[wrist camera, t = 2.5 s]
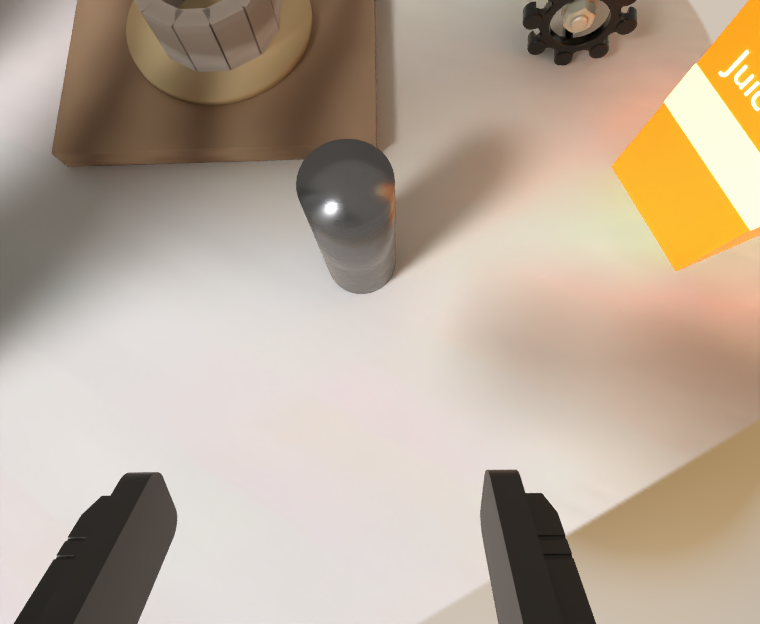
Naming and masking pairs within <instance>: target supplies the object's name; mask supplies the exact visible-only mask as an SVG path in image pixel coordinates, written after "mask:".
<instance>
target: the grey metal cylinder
mask: <svg viewBox="0 0 760 624" xmlns="http://www.w3.org/2000/svg"><path fill="white" fill-rule="evenodd" d="M296 190H297V195H298V198H299V201H300V203H301V206H302V208H303V210H304V213H305V215H306V217H307V220H308V222H309V224H310V227H311V229H312V231H313V234H314V236H315V238H316V241H317V243H318V245H319V248H320V250H321V252H322V255H323V257H324V259H325V262H326V264H327V266H328V269H329V271H330V273H331V276H332V278H333V279H334V281H335V282H336V283H337V284H338V285H339V286H340V287H341V288H343V289H345V290H346V291H349V292H352V293H357V294H366V293H371V292H374V291H376V290H378V289H380V288H381V287H383V286H384V285H385V284H386V283H387V282H388V281H389V279H390V278H391V276H392V274H393V271H394V268H395V179H394V173H393V169H392V166H391V164H390V162H389V160H388V159H387V158H386V156H385V155H384V154H383V153H382V152H381V151H380V150H379V149H378V148H376V147H375V146H373V145H371V144H369V143H367V142H364V141H361V140H357V139H338V140H333V141H330V142H327V143H325V144H323V145H321V146H319V147H318V148H316V149H315V150H313V151H312V152H311V153H310V154H309V155H308V156H307V157H306V159H305V160H304V161H303V163H302V165H301V167H300V169H299V172H298V175H297V181H296Z"/></svg>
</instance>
